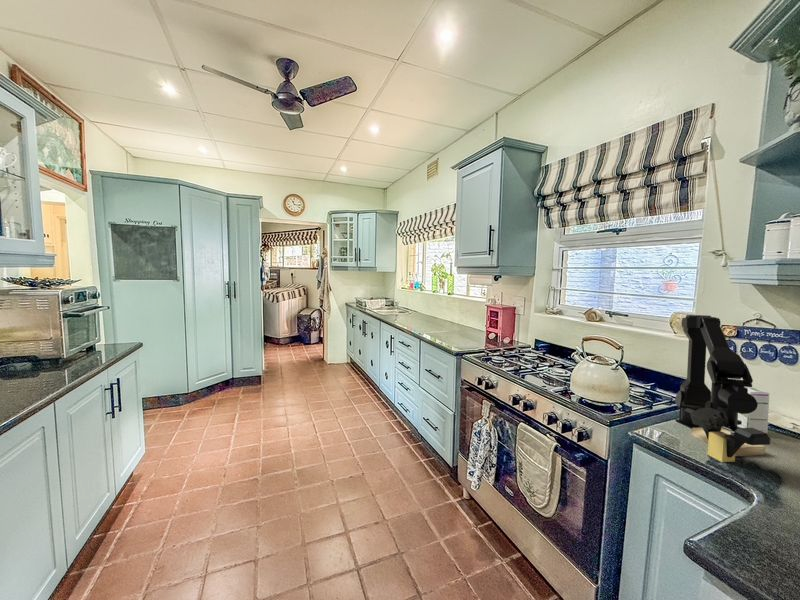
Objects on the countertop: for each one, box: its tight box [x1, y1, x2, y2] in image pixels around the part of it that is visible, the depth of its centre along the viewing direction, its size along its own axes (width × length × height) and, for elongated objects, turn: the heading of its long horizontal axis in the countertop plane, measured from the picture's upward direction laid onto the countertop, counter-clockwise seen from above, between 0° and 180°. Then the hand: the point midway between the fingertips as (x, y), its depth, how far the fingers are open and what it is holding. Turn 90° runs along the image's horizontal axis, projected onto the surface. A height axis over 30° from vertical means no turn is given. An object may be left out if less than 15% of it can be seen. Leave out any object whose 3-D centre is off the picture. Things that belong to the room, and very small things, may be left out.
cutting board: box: [691, 427, 766, 457], centre depth 102 cm, size 13×10×2 cm
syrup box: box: [737, 386, 770, 434], centre depth 111 cm, size 6×6×14 cm
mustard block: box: [707, 431, 736, 463], centre depth 94 cm, size 4×4×7 cm
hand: (721, 452), depth 94 cm, fingers closed on mustard block, 4 cm apart
